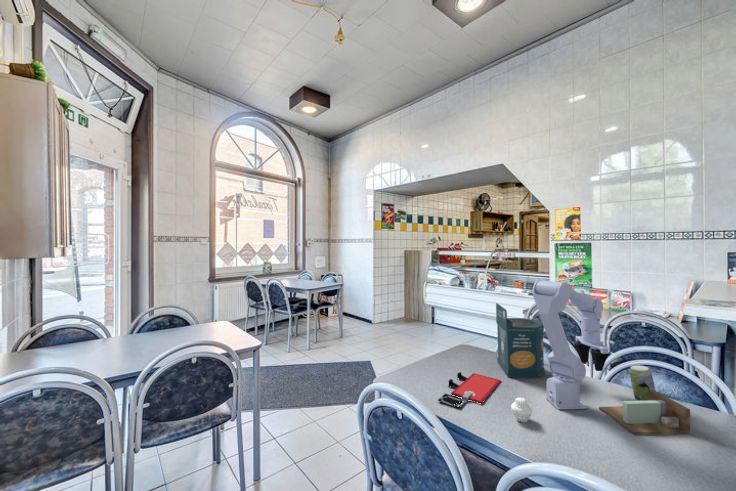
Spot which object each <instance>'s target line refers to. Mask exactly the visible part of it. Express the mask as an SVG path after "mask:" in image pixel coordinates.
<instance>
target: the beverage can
mask: <svg viewBox="0 0 736 491" xmlns="http://www.w3.org/2000/svg"><path fill="white" fill-rule="evenodd" d="M629 368H630V369H629V370H628V372H629V378H630V381H631V388H632V392H633V396H634V400H635V401H648V390H654V391H656V386H655V382H654V376H653V373H652V371H651V370H650V369H649V367H648V366H645V365H639V364H637V365H631V366H630V367H629ZM656 392H657V391H656Z"/></svg>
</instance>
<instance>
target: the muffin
mask: <svg viewBox="0 0 736 491" xmlns="http://www.w3.org/2000/svg"><path fill="white" fill-rule="evenodd" d="M510 409H511V412H512V414H513V416H514V417H515V419H517V421H518V422H520V421H521V422H520V423H527V422H528V421H529V419H530V417H531V416H532V414H533V408H532V407H531V405H530V404H529V403H528V400H527V399H526V398H524V397H517V398H515V399H514V402H512V403H511V404H510Z"/></svg>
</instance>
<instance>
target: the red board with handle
mask: <svg viewBox="0 0 736 491" xmlns="http://www.w3.org/2000/svg"><path fill="white" fill-rule="evenodd" d="M456 376H457V378H459V379H460V378H461V379H460V380H463V379H465V380H463V382H462V383H461V384H457V383H456V382H454V379H452V378H450V379H449V380H448V387H449V386H452V387H454V388H455V389H454V390H452V391H451V392H450V394H448V393H444V394H443V395H442V396H440V397H439V398H438V399H437V402H441V403H444V404H446V405H450V406H452V407H455V406H458V405H460V404H461V403H465V404H466V403H468V402H469V401H468V400H472V401H475V402H478V403H481V404H482V403H483V401H484V400H485V399H486V398H487V397H488V396H489V397H490V395H491V394H492V393H493V392H494V391H495V390H496V388H497V387H498V386H499V385H500V384H501V382H502V380H501V379H497V378H493V377H490V376H486V375H482V374H478V373H474V372H472V374H470V375H469V376H468V377H466V376H465V375H463V374H462V372H460V371H459V372H457V375H456ZM498 384H499V385H498ZM497 385H498V386H497ZM456 387H457V388H456ZM493 390H494V391H493ZM492 391H493V392H492ZM491 392H492V393H491ZM490 393H491V394H490ZM451 394H452V395H455V396H458V397H462V399H461V398H458V397H455V396H452V395H451ZM489 397H488V398H489ZM488 398H487V399H488ZM487 399H486V400H487ZM486 400H485V401H486ZM462 401H464V402H462ZM467 401H468V402H467ZM485 401H484V402H485ZM459 402H460V403H459ZM456 403H457V404H456ZM454 404H455V405H454ZM483 404H484V403H483ZM483 404H482V405H483ZM453 405H454V406H453ZM460 406H461V405H460ZM460 406H459V407H460ZM459 407H457V408H458V409H460V408H459Z"/></svg>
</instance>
